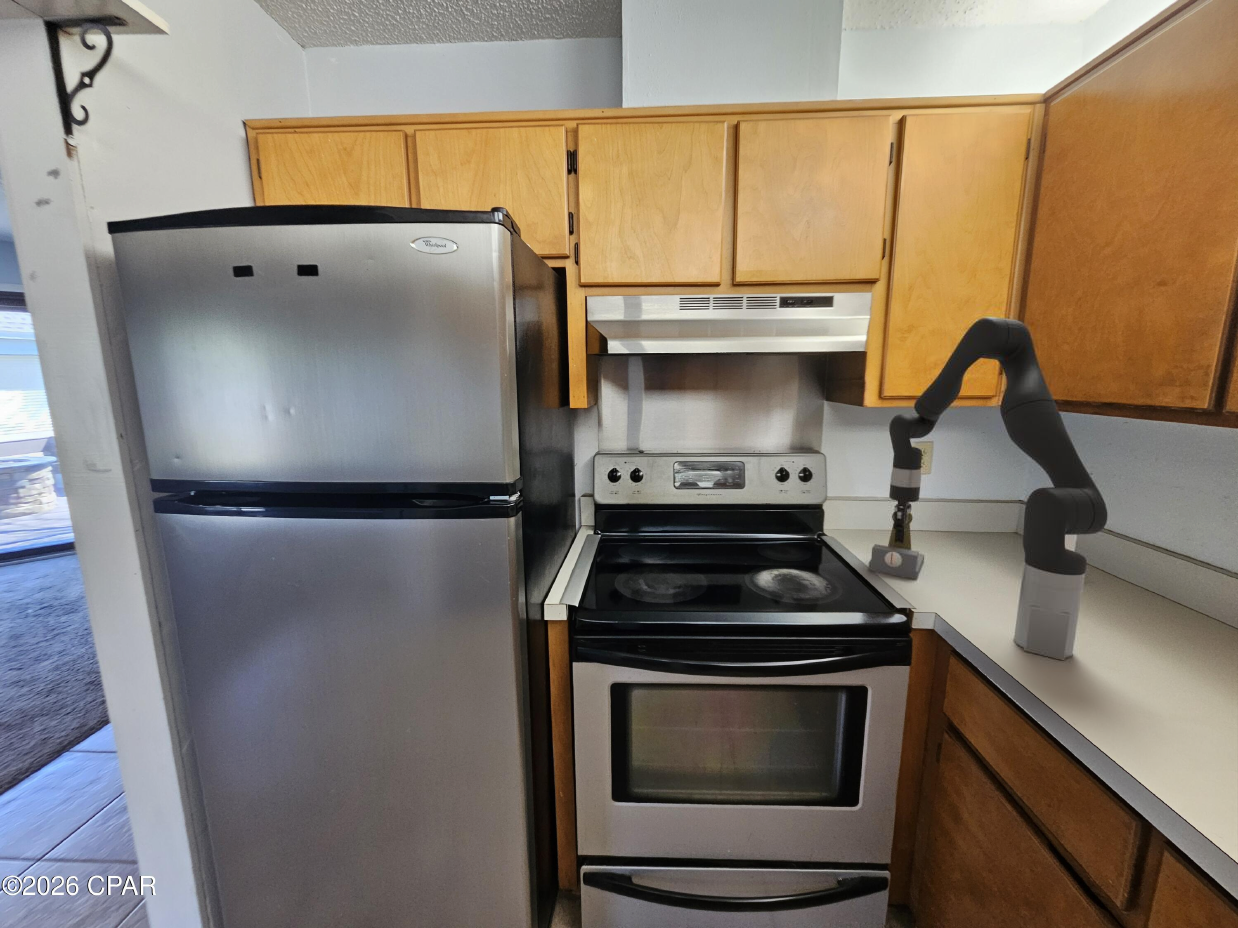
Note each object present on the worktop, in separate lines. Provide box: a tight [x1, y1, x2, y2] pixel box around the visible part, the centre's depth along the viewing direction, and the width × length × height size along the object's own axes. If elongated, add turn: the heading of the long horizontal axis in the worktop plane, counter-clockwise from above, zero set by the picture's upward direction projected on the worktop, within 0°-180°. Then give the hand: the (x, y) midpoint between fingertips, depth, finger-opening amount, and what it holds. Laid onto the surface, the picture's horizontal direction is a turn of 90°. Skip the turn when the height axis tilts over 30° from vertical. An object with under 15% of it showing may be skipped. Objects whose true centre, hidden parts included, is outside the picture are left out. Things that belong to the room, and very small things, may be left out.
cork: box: [887, 512, 914, 550], centre depth 146 cm, size 6×6×11 cm
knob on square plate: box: [868, 543, 925, 581], centre depth 145 cm, size 16×12×7 cm
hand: (900, 540), depth 146 cm, fingers closed on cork, 3 cm apart
